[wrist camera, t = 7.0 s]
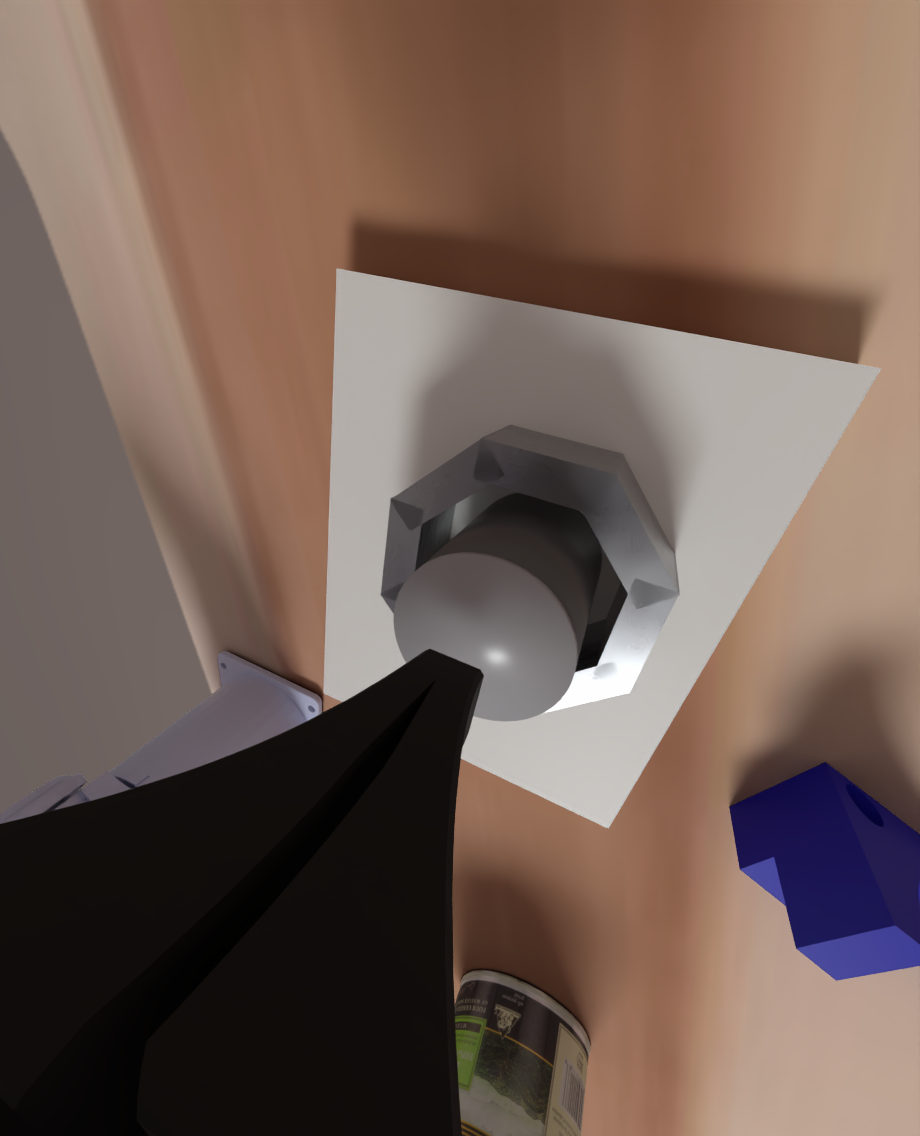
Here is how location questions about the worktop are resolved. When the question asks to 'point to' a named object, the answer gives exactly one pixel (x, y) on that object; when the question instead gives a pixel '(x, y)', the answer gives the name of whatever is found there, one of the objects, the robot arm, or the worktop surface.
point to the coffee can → (517, 1059)
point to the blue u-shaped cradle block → (835, 871)
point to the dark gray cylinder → (507, 603)
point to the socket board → (567, 496)
